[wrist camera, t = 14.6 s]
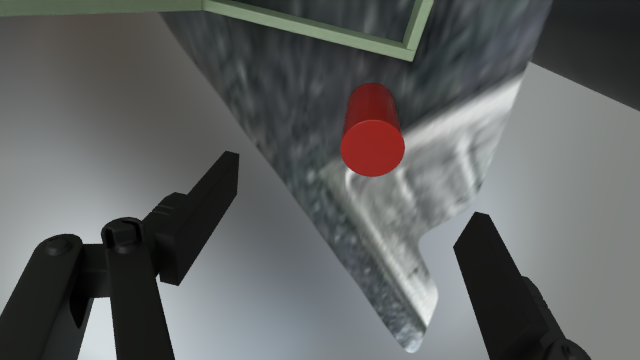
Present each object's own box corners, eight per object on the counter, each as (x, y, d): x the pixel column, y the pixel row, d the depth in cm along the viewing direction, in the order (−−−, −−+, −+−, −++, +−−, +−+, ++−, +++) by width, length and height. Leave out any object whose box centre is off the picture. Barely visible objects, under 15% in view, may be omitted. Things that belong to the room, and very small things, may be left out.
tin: (400, 86, 34) (414, 128, 24) (385, 129, 37) (392, 183, 27) (354, 75, 34) (349, 112, 24) (343, 119, 37) (334, 168, 27)
